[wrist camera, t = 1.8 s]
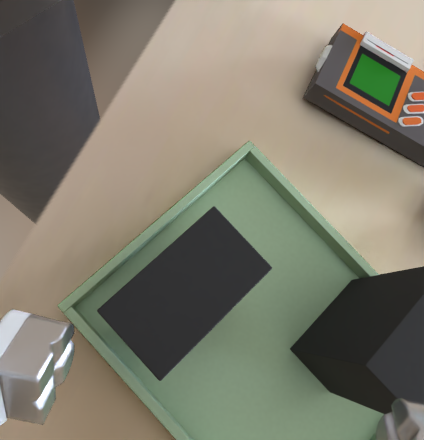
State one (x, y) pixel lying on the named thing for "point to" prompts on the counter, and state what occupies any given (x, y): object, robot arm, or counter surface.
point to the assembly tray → (241, 317)
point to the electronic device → (372, 90)
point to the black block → (184, 292)
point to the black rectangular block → (370, 341)
